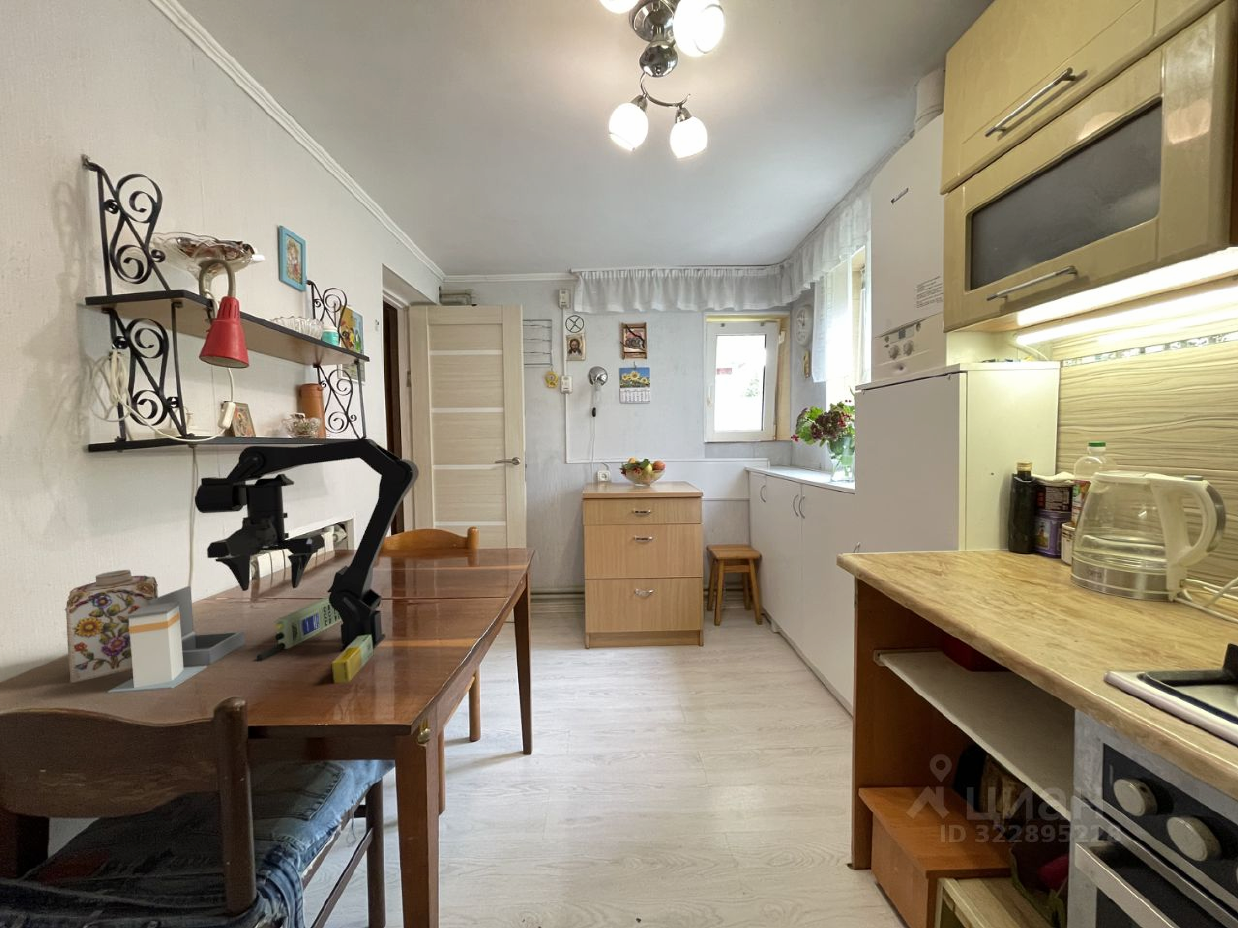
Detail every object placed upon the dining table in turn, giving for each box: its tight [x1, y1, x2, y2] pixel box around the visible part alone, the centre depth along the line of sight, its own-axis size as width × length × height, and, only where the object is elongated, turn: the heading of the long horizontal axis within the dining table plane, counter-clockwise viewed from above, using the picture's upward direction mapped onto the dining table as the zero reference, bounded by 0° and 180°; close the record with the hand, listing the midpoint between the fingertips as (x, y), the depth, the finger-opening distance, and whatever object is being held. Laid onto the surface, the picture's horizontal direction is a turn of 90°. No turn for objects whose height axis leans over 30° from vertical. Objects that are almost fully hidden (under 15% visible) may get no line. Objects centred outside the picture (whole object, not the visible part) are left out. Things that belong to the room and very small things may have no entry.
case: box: [147, 585, 246, 667], centre depth 96 cm, size 10×10×13 cm
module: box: [127, 602, 184, 688], centre depth 86 cm, size 5×5×12 cm
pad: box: [106, 665, 208, 694], centre depth 86 cm, size 10×8×1 cm
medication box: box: [331, 634, 374, 684], centre depth 89 cm, size 12×3×4 cm, turn 8°
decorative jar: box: [64, 569, 159, 684], centre depth 93 cm, size 12×12×18 cm
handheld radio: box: [256, 595, 342, 662], centre depth 105 cm, size 7×3×25 cm
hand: (270, 588), depth 96 cm, fingers open, 9 cm apart
